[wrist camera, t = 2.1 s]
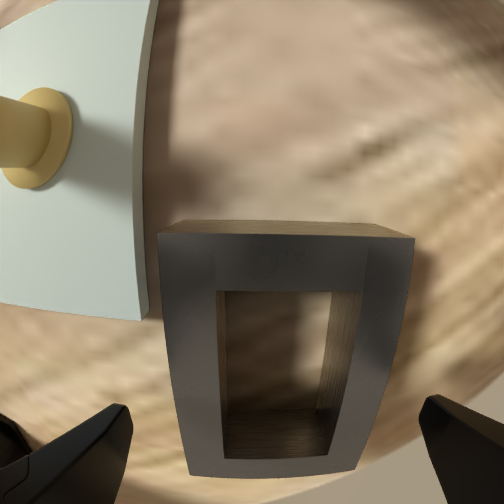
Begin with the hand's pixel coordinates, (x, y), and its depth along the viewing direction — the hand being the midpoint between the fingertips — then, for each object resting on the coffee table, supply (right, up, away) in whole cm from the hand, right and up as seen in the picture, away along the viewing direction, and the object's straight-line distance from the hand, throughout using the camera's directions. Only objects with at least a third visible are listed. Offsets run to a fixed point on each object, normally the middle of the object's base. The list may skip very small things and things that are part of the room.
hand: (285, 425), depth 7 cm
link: (0, +1, +4) cm, 4 cm away
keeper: (-9, +9, +2) cm, 13 cm away
